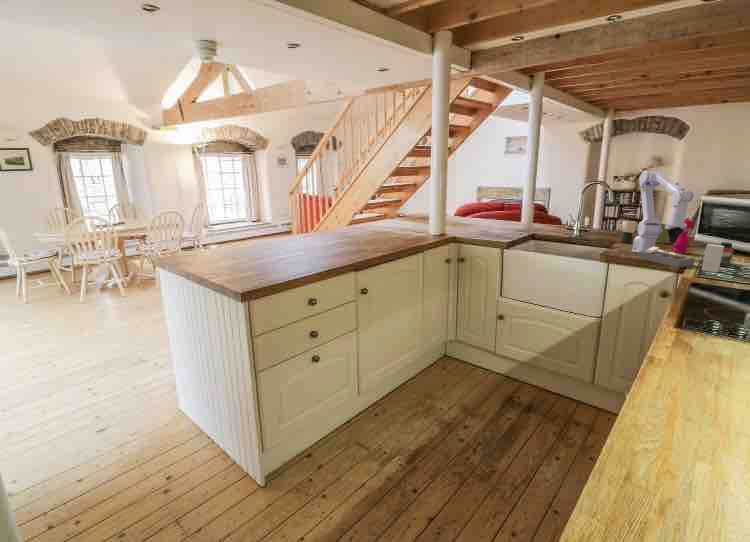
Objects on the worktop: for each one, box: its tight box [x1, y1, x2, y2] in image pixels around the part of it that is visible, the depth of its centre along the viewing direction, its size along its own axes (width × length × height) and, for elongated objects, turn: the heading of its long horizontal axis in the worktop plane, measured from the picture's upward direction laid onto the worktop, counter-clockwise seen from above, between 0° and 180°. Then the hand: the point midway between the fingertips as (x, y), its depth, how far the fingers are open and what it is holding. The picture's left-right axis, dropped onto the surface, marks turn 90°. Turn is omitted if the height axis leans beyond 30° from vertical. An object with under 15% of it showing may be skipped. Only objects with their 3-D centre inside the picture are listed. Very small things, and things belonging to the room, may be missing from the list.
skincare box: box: [701, 243, 724, 273], centre depth 188 cm, size 6×4×12 cm
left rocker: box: [646, 246, 660, 253], centre depth 208 cm, size 3×6×1 cm, turn 115°
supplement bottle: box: [720, 241, 734, 268], centre depth 199 cm, size 6×6×11 cm
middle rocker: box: [657, 248, 670, 255], centre depth 203 cm, size 3×6×1 cm, turn 115°
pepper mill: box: [672, 215, 693, 254], centre depth 225 cm, size 7×7×20 cm
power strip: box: [636, 251, 696, 269], centre depth 204 cm, size 20×12×4 cm, turn 25°
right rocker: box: [668, 251, 683, 257], centre depth 198 cm, size 3×6×1 cm, turn 115°
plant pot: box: [655, 223, 669, 245], centre depth 253 cm, size 12×12×11 cm
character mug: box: [618, 220, 639, 244], centre depth 250 cm, size 11×7×13 cm, turn 80°
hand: (672, 242), depth 204 cm, fingers closed
